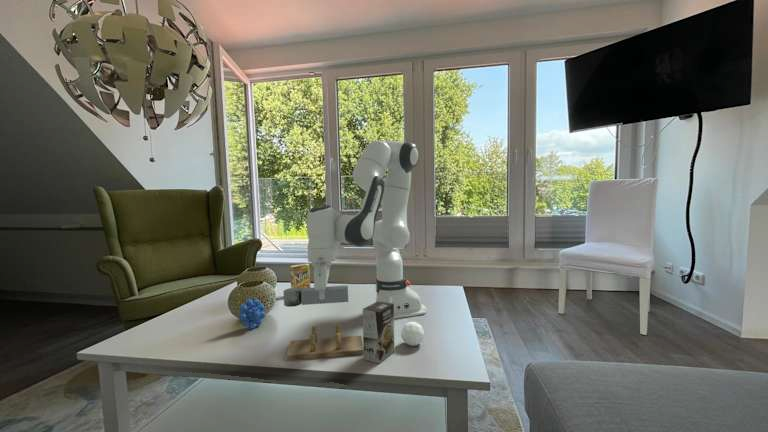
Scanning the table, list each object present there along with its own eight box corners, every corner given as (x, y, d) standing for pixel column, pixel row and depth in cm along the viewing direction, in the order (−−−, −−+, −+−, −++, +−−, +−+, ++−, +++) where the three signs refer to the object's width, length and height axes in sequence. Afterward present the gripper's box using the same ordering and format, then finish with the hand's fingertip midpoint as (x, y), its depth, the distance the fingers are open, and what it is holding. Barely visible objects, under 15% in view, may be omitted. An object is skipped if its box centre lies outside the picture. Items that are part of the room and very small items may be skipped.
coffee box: (380, 364, 107) (379, 312, 106) (362, 359, 110) (361, 308, 109) (395, 351, 115) (394, 303, 113) (378, 347, 118) (377, 300, 117)
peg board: (361, 339, 124) (360, 321, 124) (363, 354, 113) (362, 334, 113) (291, 344, 121) (290, 326, 121) (286, 360, 110) (285, 340, 110)
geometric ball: (419, 353, 119) (429, 339, 115) (397, 347, 118) (406, 332, 113) (418, 334, 125) (427, 320, 121) (397, 328, 124) (406, 314, 120)
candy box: (294, 297, 174) (292, 266, 172) (290, 295, 177) (289, 265, 176) (310, 294, 179) (309, 264, 177) (307, 292, 182) (306, 262, 181)
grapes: (247, 336, 129) (245, 304, 128) (235, 332, 133) (233, 301, 132) (272, 325, 139) (271, 295, 138) (261, 322, 142) (259, 293, 141)
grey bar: (348, 297, 121) (347, 284, 120) (348, 302, 115) (347, 289, 115) (285, 301, 119) (284, 288, 118) (282, 307, 113) (282, 293, 113)
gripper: (330, 261, 106) (331, 306, 107) (332, 249, 126) (333, 287, 127) (308, 262, 105) (309, 307, 106) (314, 250, 125) (315, 288, 127)
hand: (322, 296), depth 117 cm, fingers closed on grey bar, 3 cm apart
